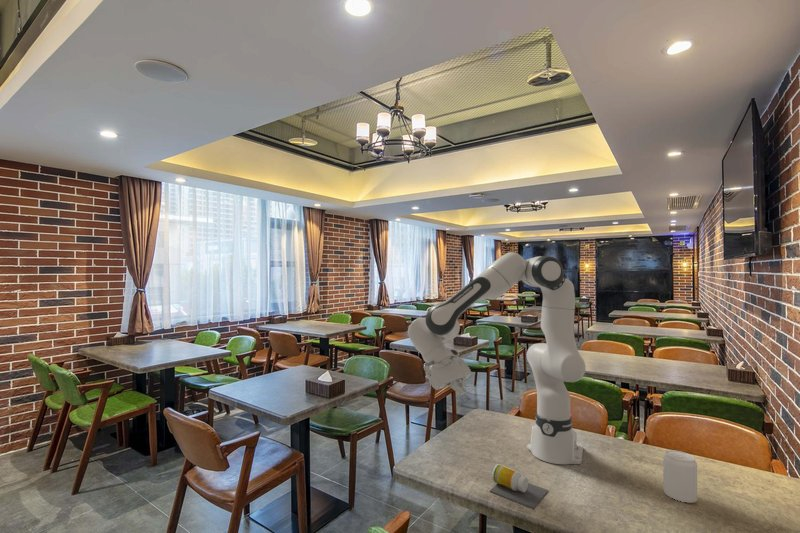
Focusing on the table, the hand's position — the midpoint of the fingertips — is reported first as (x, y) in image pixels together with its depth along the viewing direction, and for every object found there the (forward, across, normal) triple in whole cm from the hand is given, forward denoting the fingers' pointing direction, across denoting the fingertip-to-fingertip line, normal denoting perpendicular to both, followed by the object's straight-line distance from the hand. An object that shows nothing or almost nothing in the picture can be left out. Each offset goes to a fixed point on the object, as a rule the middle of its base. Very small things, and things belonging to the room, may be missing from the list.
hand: (463, 393), depth 127 cm
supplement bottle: (+24, 0, +7) cm, 25 cm away
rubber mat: (+31, 0, +4) cm, 31 cm away
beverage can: (+58, +29, -22) cm, 68 cm away
